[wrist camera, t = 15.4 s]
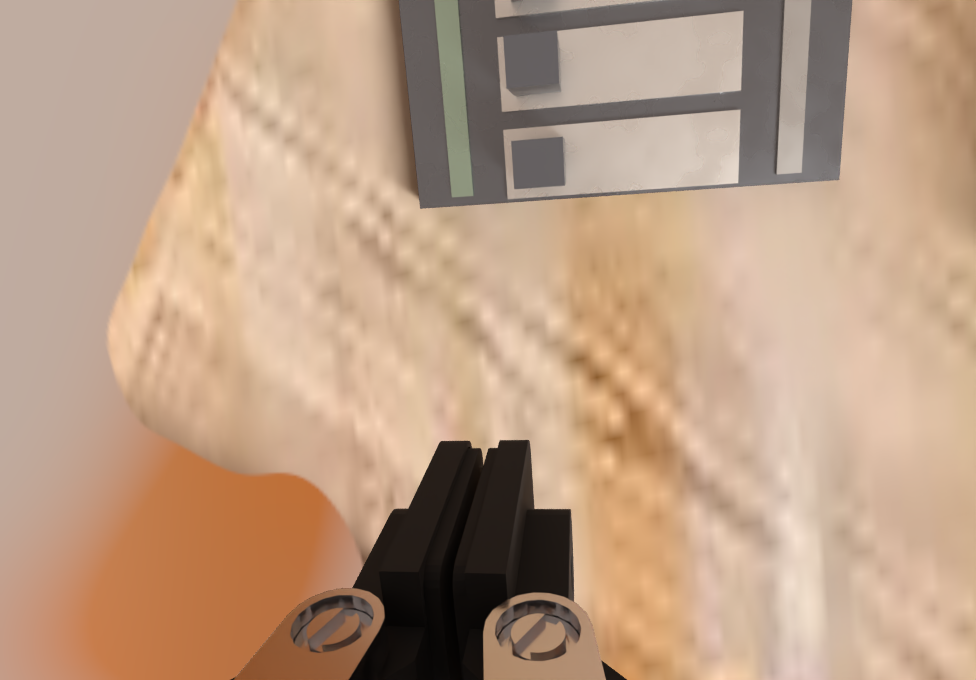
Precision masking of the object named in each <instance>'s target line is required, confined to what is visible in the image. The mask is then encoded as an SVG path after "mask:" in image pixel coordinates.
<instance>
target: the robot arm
mask: <svg viewBox="0 0 976 680" xmlns="http://www.w3.org/2000/svg"><path fill="white" fill-rule="evenodd" d="M231 680H627V679H625V678H624V677H623V676H621V675H620V674H619V673H617V672H616V671H615V670H613V669H612V668H611V667H609V666H608V665H607V664H605V663H604V662H603V661H602V660H601V658H600V654H599V650H598V645H597V641H596V637H595V633H594V629H593V625H592V623H591V621H590V619H589V617H588V614H587V613H586V612H585V611H584V610H583V609H582V608H581V607H580V606H579V605H578V604H577V603H575V602H574V569H573V542H572V521H571V509H534V496H533V480H532V464H531V449H530V442H529V440H500V442H499V445H498V448H489V449H488V452H487V455H486V459H485V462H484V465H483V457H482V451H481V448H472V446H471V443H470V441H441V442H440V443H439V445H438V447H437V449H436V451H435V454H434V456H433V458H432V460H431V462H430V464H429V466H428V468H427V470H426V473H425V475H424V477H423V479H422V481H421V483H420V485H419V487H418V489H417V492H416V494H415V496H414V498H413V500H412V502H411V504H410V506H409V509H394V510H393V511H392V513H391V514H390V516H389V518H388V520H387V522H386V524H385V526H384V528H383V529H382V531H381V533H380V535H379V537H378V539H377V541H376V543H375V545H374V547H373V549H372V551H371V553H370V555H369V557H368V559H367V561H366V562H365V564H364V566H363V568H362V570H361V572H360V574H359V576H358V578H357V580H356V582H355V584H354V586H353V588H341V589H336V590H331V591H326V592H323V593H321V594H318V595H315V596H313V597H311V598H309V599H307V600H306V601H304V602H303V603H301V604H299V605H298V606H297V607H296V608H295V609H294V610H292V611H291V612H290V613H289V614H288V615H287V616H286V618H285V619H284V620H283V621H282V623H281V624H280V625H279V626H278V627H277V628H276V630H275V631H274V632H273V633H272V634H271V636H270V637H269V638H268V639H267V640H266V642H265V643H264V644H263V645H262V646H261V648H260V649H259V650H258V651H257V652H256V654H255V655H254V656H253V657H252V658H251V659H250V661H249V662H248V663H247V664H246V665H245V667H244V668H243V669H242V670H241V671H240V673H239V674H238V675H237V676H236V677H235V678H233V679H231Z"/></svg>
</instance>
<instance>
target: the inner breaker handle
mask: <svg viewBox="0 0 976 680" xmlns="http://www.w3.org/2000/svg"><path fill="white" fill-rule="evenodd" d="M511 147H512V163H513V179H514V189H525V188H539V187H553V186H565V184H566V164H565V140H564V137H553V138H541V139H529V140H517V141H511Z"/></svg>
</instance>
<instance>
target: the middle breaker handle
mask: <svg viewBox="0 0 976 680" xmlns="http://www.w3.org/2000/svg"><path fill="white" fill-rule="evenodd" d="M503 42H504V58H505V73H506V89H508V90H509V91H510V92H511V93H512V94H513V95H514V96H520V95H530V94H541V93H552V92H561V72H560V48H559V39H558V33H557V30H554V31H544V32H535V33H526V34H517V35H507V36H503Z"/></svg>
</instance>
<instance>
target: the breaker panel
mask: <svg viewBox="0 0 976 680" xmlns="http://www.w3.org/2000/svg"><path fill="white" fill-rule="evenodd" d="M399 8H400V17H401V27H402V37H403V47H404V56H405V66H406V76H407V85H408V95H409V105H410V114H411V124H412V134H413V143H414V153H415V163H416V172H417V182H418V192H419V201H420V209H422V208H436V207H451V206H466V205H480V204H495V203H509V202H524V201H538V200H553V199H567V198H582V197H597V196H611V195H626V194H640V193H655V192H669V191H684V190H699V189H713V188H728V187H742V186H757V185H771V184H786V183H800V182H815V181H830V180H839V175H840V162H841V148H842V134H843V121H844V107H845V93H846V79H847V66H848V52H849V38H850V25H851V11H852V0H399ZM554 30H557V33H558V39H559V48H560V72H561V92H552V93H541V94H530V95H520V96H514V95H513V94H512V93H511V92H510V91H509V90H508V89H506V73H505V58H504V42H503V36H507V35H517V34H526V33H535V32H544V31H554ZM553 137H564V140H565V164H566V184H565V186H553V187H539V188H525V189H514V179H513V163H512V147H511V141H517V140H529V139H541V138H553Z"/></svg>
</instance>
